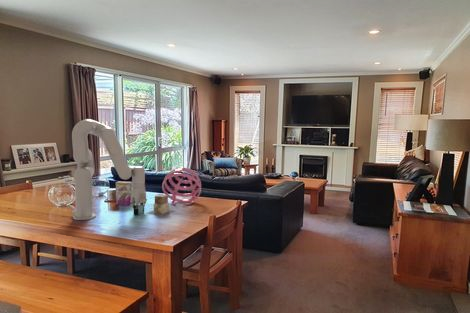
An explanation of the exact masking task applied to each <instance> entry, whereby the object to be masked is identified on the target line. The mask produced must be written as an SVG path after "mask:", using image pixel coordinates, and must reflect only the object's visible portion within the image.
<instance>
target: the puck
mask: <svg viewBox="0 0 470 313" xmlns="http://www.w3.org/2000/svg"><path fill="white" fill-rule="evenodd" d="M135 206H136V205H135ZM137 209H138V215H137V216H142V215H144V213H143V205H142V204H138V208H137Z"/></svg>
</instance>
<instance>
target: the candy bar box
mask: <svg viewBox="0 0 470 313" xmlns="http://www.w3.org/2000/svg"><path fill="white" fill-rule="evenodd" d="M132 188H133V183H132V181H120V180H119V181H115V205H117V206H131V205H130V204H131V190H132Z"/></svg>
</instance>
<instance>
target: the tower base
mask: <svg viewBox="0 0 470 313" xmlns="http://www.w3.org/2000/svg"><path fill="white" fill-rule="evenodd" d="M169 208H170V202H169V201H168V203H165V204H163V205H162V204H155V202H154V203H153V210H154V213H159V214H164V213H166V212H169V210H170V209H169Z"/></svg>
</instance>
